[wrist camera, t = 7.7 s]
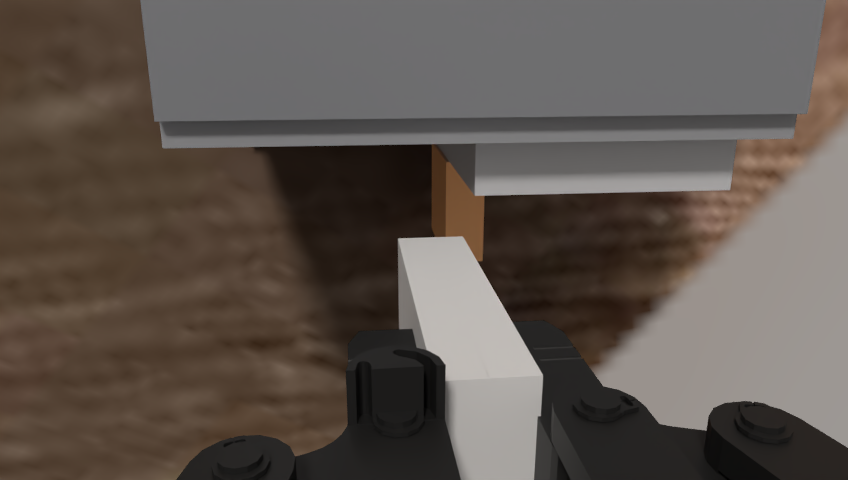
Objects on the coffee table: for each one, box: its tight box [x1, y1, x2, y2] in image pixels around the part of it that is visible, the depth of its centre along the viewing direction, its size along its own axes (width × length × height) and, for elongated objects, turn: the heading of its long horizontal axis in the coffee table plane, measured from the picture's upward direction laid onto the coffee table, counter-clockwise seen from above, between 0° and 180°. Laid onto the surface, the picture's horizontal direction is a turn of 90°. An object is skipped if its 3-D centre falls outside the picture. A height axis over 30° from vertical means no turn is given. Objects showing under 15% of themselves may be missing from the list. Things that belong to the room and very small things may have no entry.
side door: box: [432, 139, 737, 261], centre depth 21 cm, size 6×5×8 cm
